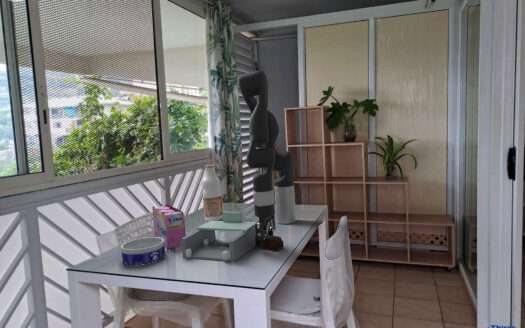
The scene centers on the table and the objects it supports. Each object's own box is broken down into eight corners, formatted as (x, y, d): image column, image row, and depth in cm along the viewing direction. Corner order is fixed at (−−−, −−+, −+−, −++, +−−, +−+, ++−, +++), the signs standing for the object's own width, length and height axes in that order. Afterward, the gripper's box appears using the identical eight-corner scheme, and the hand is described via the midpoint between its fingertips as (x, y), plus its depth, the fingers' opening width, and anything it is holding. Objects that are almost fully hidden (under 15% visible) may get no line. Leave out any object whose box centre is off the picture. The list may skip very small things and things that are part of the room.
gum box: (153, 235, 167) (150, 206, 165) (170, 232, 171) (168, 203, 169) (168, 249, 146) (164, 215, 145) (187, 244, 150) (184, 211, 149)
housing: (212, 239, 155) (211, 222, 154) (259, 241, 147) (257, 224, 146) (180, 258, 133) (178, 239, 133) (232, 263, 125) (231, 242, 125)
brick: (255, 247, 140) (254, 235, 140) (261, 244, 143) (260, 232, 143) (277, 252, 134) (277, 239, 133) (284, 248, 137) (283, 236, 136)
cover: (210, 222, 154) (209, 211, 153) (257, 223, 146) (256, 212, 145) (197, 229, 144) (196, 217, 144) (246, 231, 136) (245, 219, 136)
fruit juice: (201, 220, 190) (196, 166, 187) (215, 216, 196) (211, 163, 193) (212, 222, 183) (207, 166, 180) (227, 218, 189) (222, 164, 186)
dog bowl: (150, 249, 148) (148, 234, 147) (174, 255, 138) (172, 239, 137) (114, 261, 136) (112, 245, 135) (137, 269, 126) (135, 252, 126)
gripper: (261, 198, 144) (264, 239, 146) (246, 206, 131) (250, 252, 133) (280, 198, 141) (282, 240, 143) (266, 207, 128) (269, 253, 130)
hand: (267, 246), depth 138 cm, fingers open, 7 cm apart
